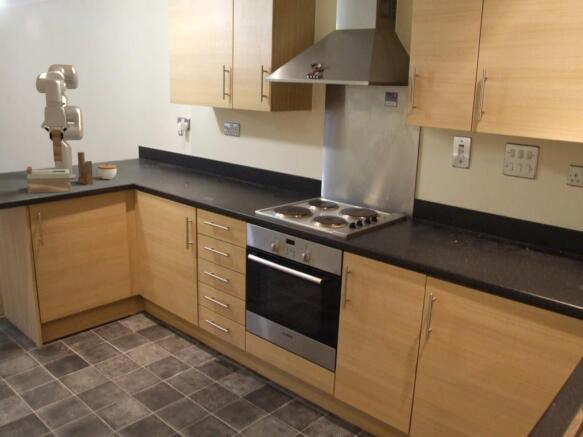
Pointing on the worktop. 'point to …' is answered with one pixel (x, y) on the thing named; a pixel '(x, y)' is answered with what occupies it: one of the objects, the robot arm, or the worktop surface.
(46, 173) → the toolbox lid
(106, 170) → the lidded jar
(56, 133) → the key peg
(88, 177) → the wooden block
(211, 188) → the worktop surface
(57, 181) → the base
